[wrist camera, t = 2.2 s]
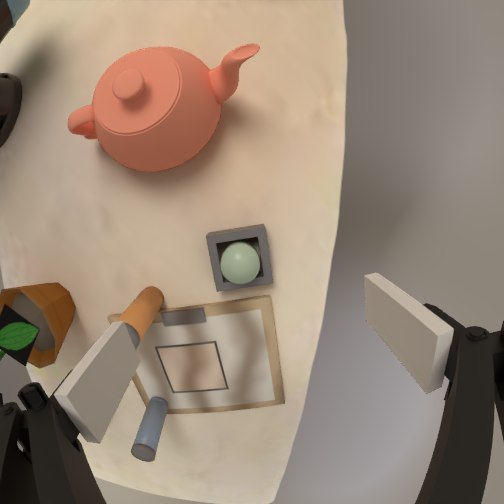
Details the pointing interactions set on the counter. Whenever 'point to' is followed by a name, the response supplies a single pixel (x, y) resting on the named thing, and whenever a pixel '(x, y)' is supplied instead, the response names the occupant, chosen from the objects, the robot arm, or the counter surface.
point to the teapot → (158, 105)
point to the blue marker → (150, 430)
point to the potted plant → (34, 323)
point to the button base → (237, 234)
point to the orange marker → (142, 313)
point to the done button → (240, 262)
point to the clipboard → (211, 357)
